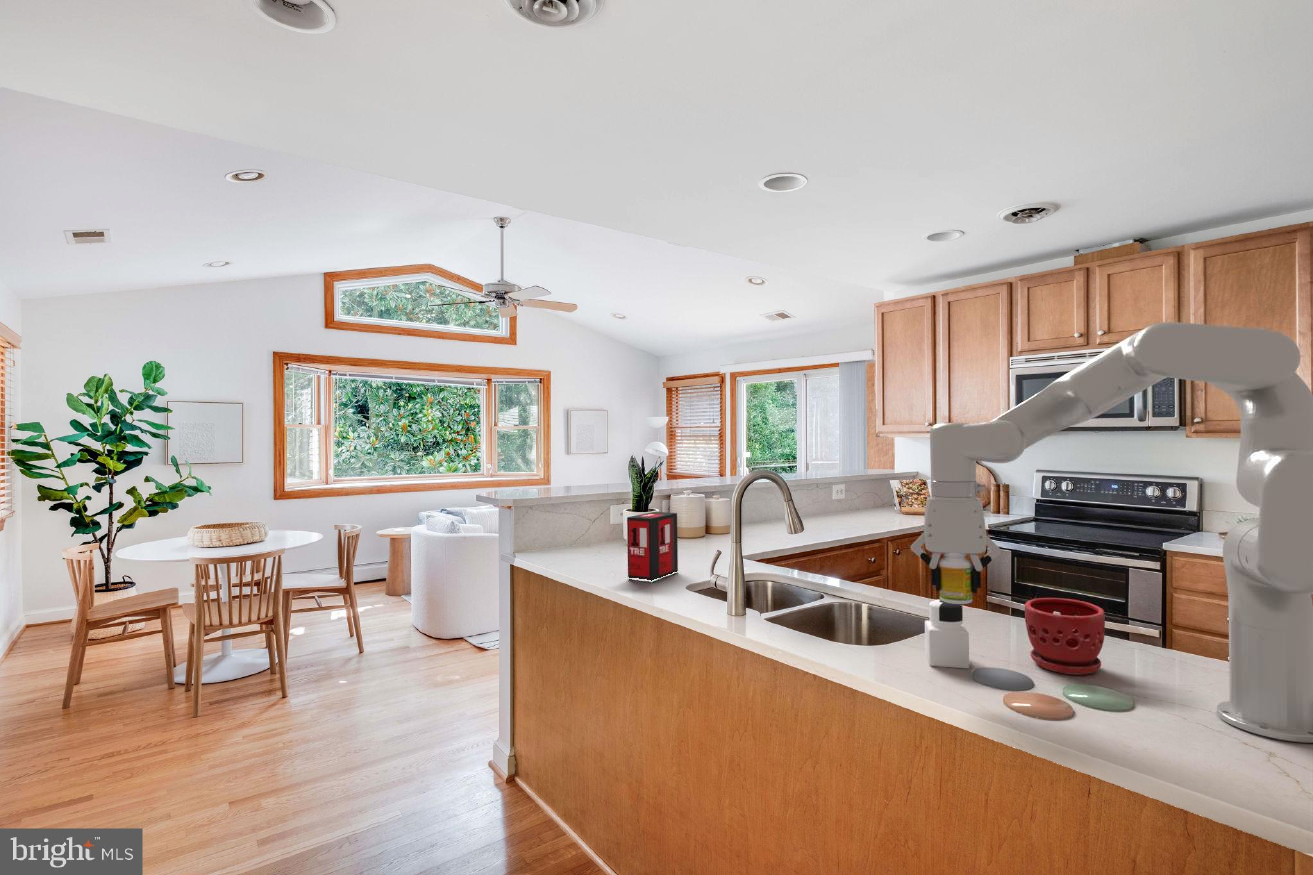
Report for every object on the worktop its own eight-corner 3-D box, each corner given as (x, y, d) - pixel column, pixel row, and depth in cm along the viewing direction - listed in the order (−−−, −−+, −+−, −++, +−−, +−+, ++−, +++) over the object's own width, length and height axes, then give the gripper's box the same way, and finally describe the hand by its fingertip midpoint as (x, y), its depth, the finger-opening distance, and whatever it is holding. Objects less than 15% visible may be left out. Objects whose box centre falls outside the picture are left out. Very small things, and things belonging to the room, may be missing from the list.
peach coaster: (1061, 699, 111) (1061, 694, 111) (1081, 723, 102) (1081, 718, 102) (997, 694, 114) (997, 689, 114) (1010, 716, 105) (1010, 711, 105)
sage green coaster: (1112, 690, 115) (1112, 685, 115) (1146, 713, 105) (1147, 708, 105) (1051, 686, 116) (1051, 682, 117) (1080, 709, 107) (1080, 704, 107)
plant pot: (1018, 653, 134) (1017, 595, 134) (1092, 659, 130) (1091, 599, 130) (1034, 676, 121) (1033, 611, 121) (1116, 683, 117) (1115, 616, 117)
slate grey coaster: (1026, 675, 123) (1026, 670, 123) (1038, 695, 113) (1038, 690, 113) (968, 669, 126) (968, 665, 126) (975, 688, 117) (975, 683, 117)
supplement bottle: (971, 605, 114) (970, 550, 114) (938, 602, 117) (937, 548, 117) (973, 598, 119) (972, 545, 119) (941, 596, 122) (940, 544, 122)
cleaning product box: (655, 570, 221) (654, 511, 221) (677, 573, 217) (677, 513, 217) (627, 579, 207) (627, 517, 207) (651, 582, 203) (650, 518, 203)
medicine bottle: (962, 657, 132) (961, 598, 132) (969, 669, 125) (968, 607, 125) (924, 654, 134) (924, 596, 134) (929, 666, 127) (928, 605, 127)
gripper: (1004, 489, 118) (1006, 589, 118) (903, 488, 125) (905, 583, 125) (1009, 493, 111) (1012, 599, 111) (902, 492, 118) (904, 592, 118)
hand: (955, 589), depth 118 cm, fingers closed on supplement bottle, 5 cm apart
